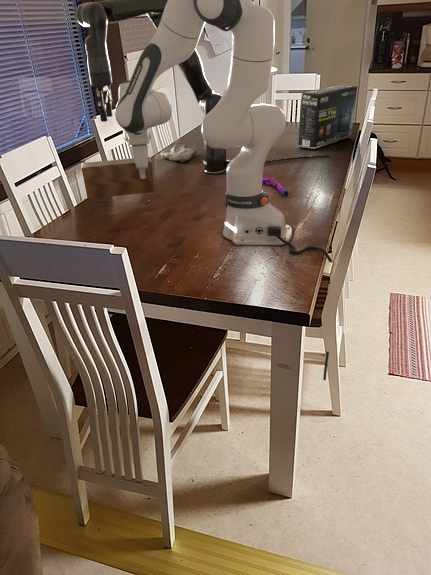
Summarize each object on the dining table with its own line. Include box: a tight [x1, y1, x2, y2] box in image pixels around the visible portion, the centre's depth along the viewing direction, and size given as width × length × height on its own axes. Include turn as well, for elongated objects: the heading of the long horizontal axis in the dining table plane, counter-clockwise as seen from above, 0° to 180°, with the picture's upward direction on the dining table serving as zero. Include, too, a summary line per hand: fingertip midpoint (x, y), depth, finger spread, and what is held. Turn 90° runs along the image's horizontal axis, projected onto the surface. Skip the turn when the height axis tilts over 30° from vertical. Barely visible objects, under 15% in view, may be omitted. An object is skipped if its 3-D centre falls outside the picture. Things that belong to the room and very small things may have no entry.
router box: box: [297, 84, 358, 151], centre depth 238 cm, size 36×11×27 cm, turn 134°
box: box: [81, 156, 156, 200], centre depth 156 cm, size 23×6×11 cm, turn 101°
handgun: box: [262, 176, 289, 197], centre depth 185 cm, size 21×8×2 cm, turn 11°
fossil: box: [160, 142, 199, 163], centre depth 229 cm, size 18×11×15 cm
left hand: (107, 118), depth 168 cm, fingers open, 8 cm apart
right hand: (142, 175), depth 157 cm, fingers closed on box, 6 cm apart
